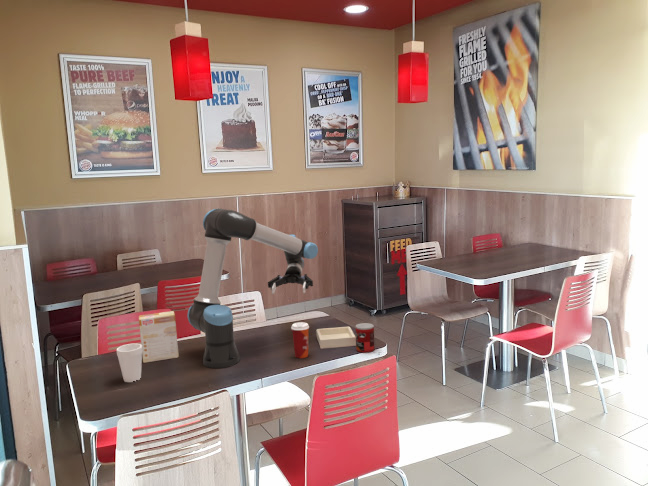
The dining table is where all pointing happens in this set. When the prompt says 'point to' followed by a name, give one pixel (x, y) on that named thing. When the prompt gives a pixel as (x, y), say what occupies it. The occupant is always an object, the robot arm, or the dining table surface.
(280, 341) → the dining table surface
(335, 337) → the tray
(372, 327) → the canned food
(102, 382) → the dining table surface
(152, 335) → the coffeecake box
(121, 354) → the foam cup
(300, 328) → the paper cup
